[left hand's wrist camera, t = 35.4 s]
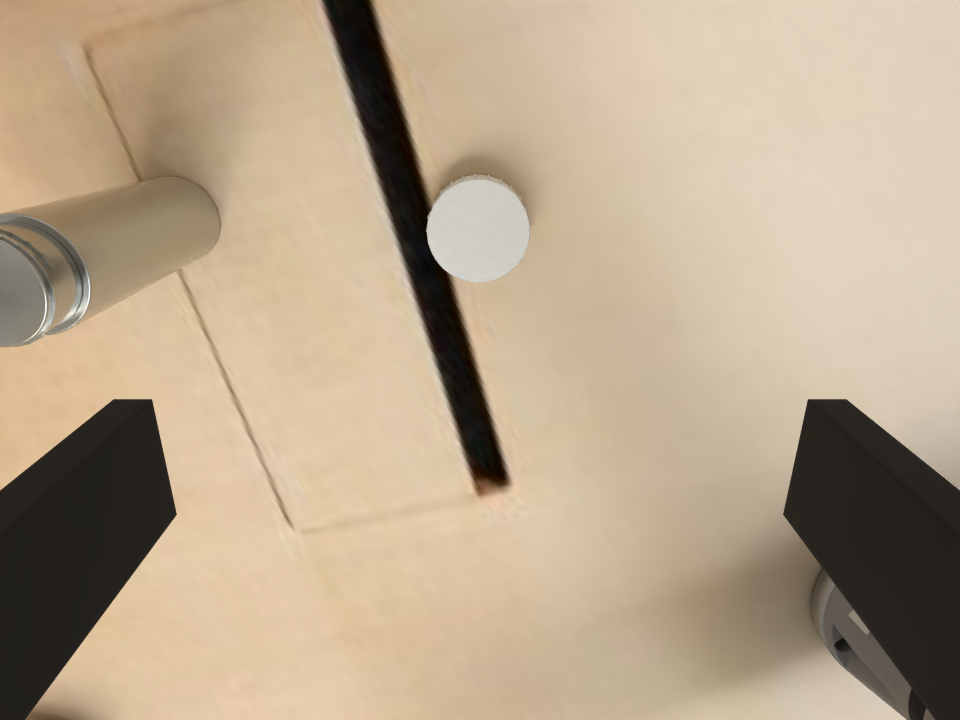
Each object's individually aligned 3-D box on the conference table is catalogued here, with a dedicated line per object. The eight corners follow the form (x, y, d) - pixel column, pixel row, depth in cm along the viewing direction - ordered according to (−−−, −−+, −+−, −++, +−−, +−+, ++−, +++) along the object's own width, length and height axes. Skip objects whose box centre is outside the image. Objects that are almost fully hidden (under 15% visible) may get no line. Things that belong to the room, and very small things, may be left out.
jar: (232, 251, 37) (79, 342, 23) (155, 267, 38) (-43, 366, 23) (202, 168, 35) (17, 210, 21) (122, 185, 36) (-114, 238, 22)
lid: (548, 214, 36) (552, 221, 34) (488, 291, 38) (489, 303, 36) (467, 152, 35) (466, 155, 33) (409, 235, 37) (405, 243, 35)
